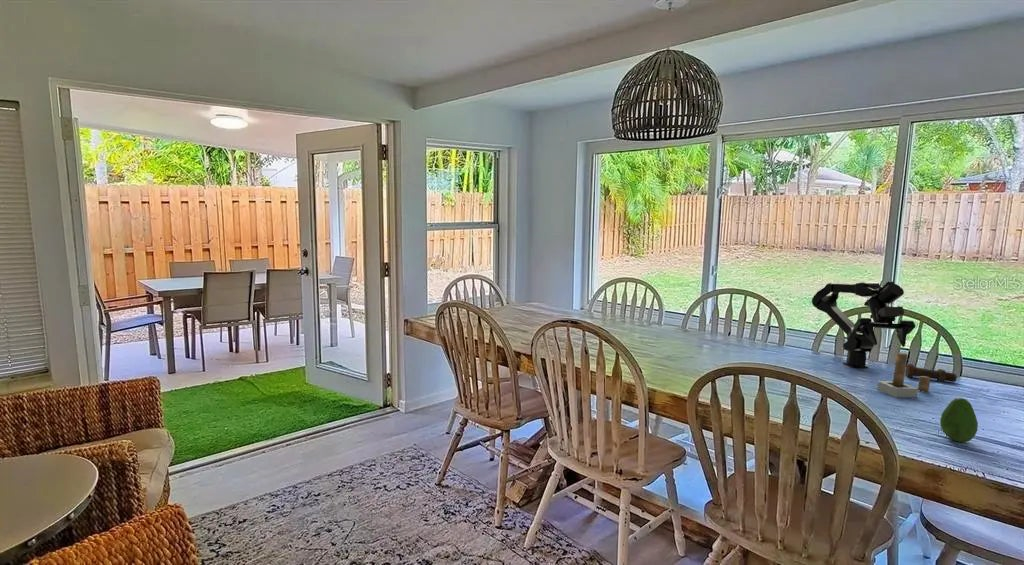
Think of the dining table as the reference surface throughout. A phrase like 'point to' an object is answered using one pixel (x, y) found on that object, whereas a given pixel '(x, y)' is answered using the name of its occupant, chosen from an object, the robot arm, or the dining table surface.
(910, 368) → the bolt
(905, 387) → the hole block
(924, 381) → the short dowel
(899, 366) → the long dowel
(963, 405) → the avocado
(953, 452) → the dining table surface
